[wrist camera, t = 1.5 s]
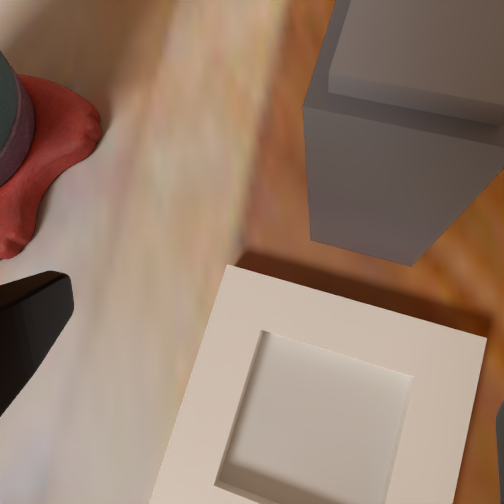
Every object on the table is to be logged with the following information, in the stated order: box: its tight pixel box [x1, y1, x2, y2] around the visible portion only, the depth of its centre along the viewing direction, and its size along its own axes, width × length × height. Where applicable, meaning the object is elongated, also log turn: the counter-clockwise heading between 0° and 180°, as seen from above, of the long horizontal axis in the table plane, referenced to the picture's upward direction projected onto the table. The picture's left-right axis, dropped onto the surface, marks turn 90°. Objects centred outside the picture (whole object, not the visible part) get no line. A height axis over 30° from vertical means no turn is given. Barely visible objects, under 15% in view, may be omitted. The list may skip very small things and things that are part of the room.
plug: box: [303, 0, 504, 267], centre depth 17 cm, size 5×5×13 cm
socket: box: [149, 264, 487, 504], centre depth 21 cm, size 12×12×1 cm
